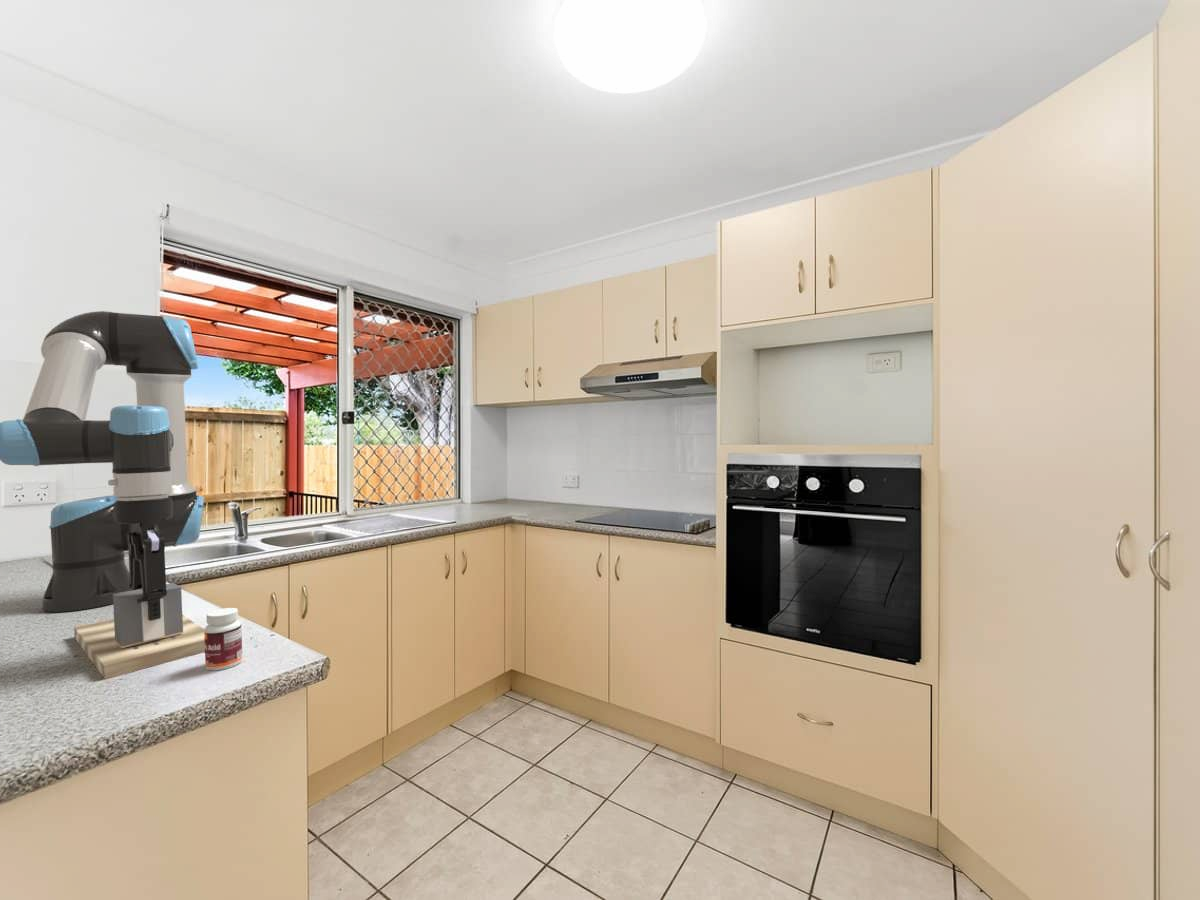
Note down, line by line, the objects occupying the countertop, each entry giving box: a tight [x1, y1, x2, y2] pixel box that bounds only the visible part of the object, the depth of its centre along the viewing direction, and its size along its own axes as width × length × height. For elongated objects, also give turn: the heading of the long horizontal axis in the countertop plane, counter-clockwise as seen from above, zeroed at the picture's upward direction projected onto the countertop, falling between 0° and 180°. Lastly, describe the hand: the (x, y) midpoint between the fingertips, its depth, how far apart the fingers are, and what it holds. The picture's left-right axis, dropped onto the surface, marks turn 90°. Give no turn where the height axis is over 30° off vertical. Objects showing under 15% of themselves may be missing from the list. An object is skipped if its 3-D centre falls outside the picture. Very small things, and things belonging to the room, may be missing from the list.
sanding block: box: [112, 582, 183, 648], centre depth 90 cm, size 8×5×8 cm, turn 141°
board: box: [73, 614, 205, 680], centre depth 93 cm, size 28×14×2 cm, turn 51°
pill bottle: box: [203, 607, 243, 671], centre depth 83 cm, size 5×5×8 cm
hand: (149, 634), depth 90 cm, fingers closed on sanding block, 5 cm apart
